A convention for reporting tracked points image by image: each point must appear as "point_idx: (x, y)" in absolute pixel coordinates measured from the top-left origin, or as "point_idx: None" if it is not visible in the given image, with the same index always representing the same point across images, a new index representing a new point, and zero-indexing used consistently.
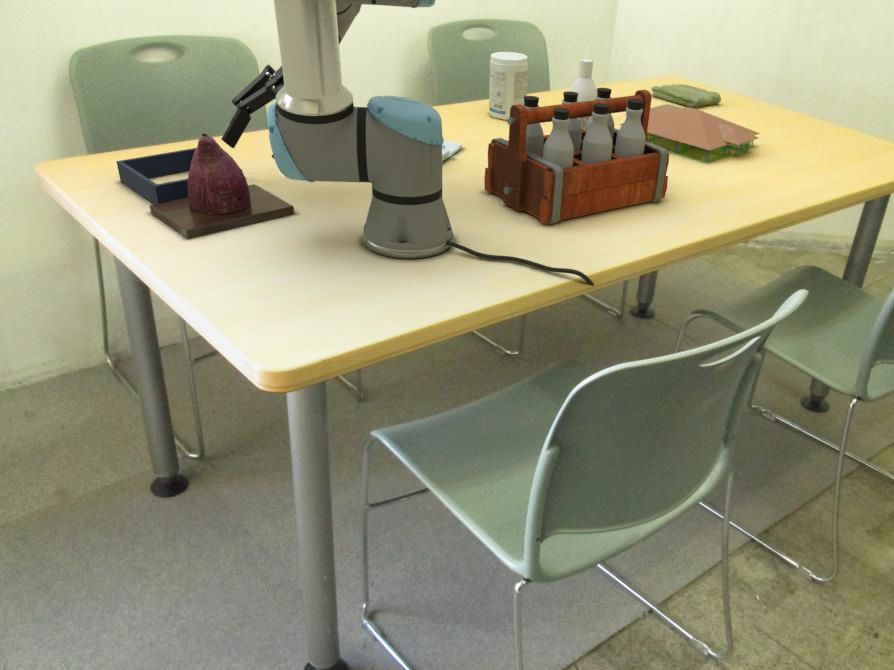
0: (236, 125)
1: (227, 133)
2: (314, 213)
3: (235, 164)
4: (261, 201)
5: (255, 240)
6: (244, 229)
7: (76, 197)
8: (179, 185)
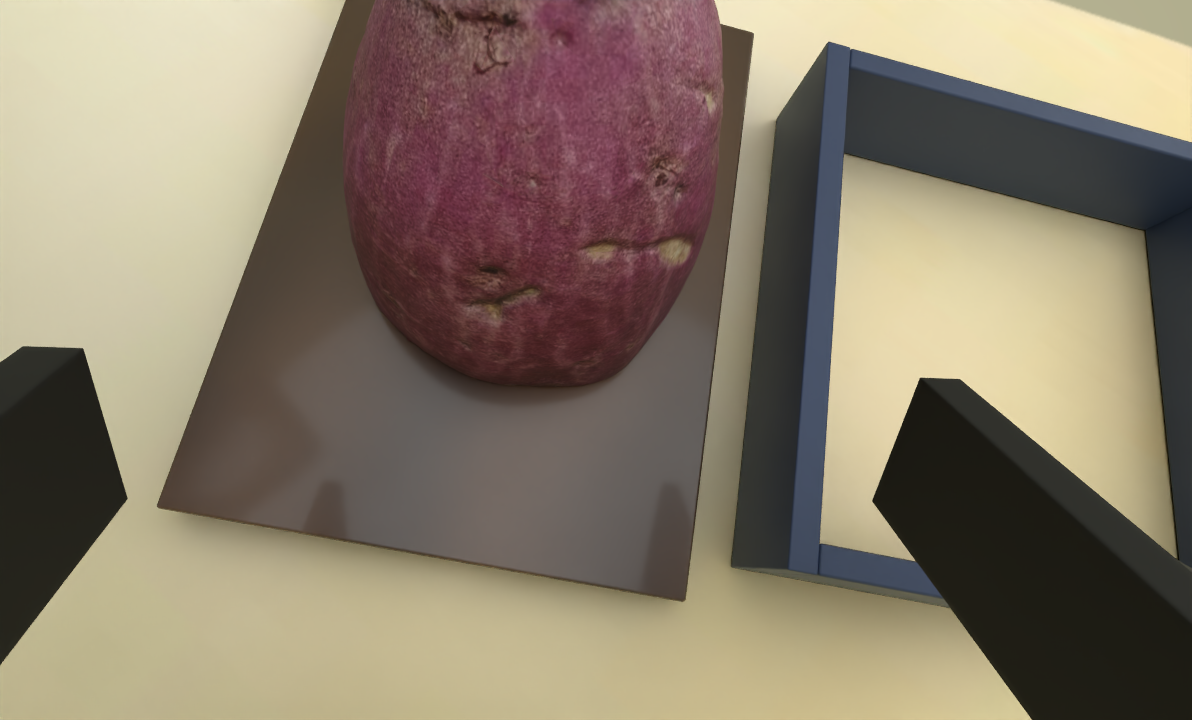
0: (1059, 574)
1: (974, 425)
2: (67, 619)
3: (411, 143)
4: (392, 414)
5: (91, 109)
6: (253, 172)
7: (1066, 18)
8: (809, 165)
